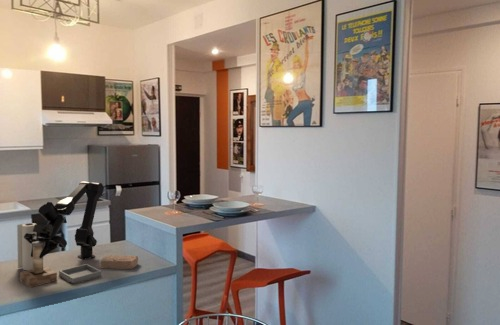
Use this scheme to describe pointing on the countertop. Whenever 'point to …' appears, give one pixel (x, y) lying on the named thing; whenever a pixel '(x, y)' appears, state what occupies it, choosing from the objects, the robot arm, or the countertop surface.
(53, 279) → the socket block
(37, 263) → the pin
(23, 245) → the paper towel roll
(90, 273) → the tray
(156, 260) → the countertop surface
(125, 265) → the brick
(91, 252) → the robot arm
